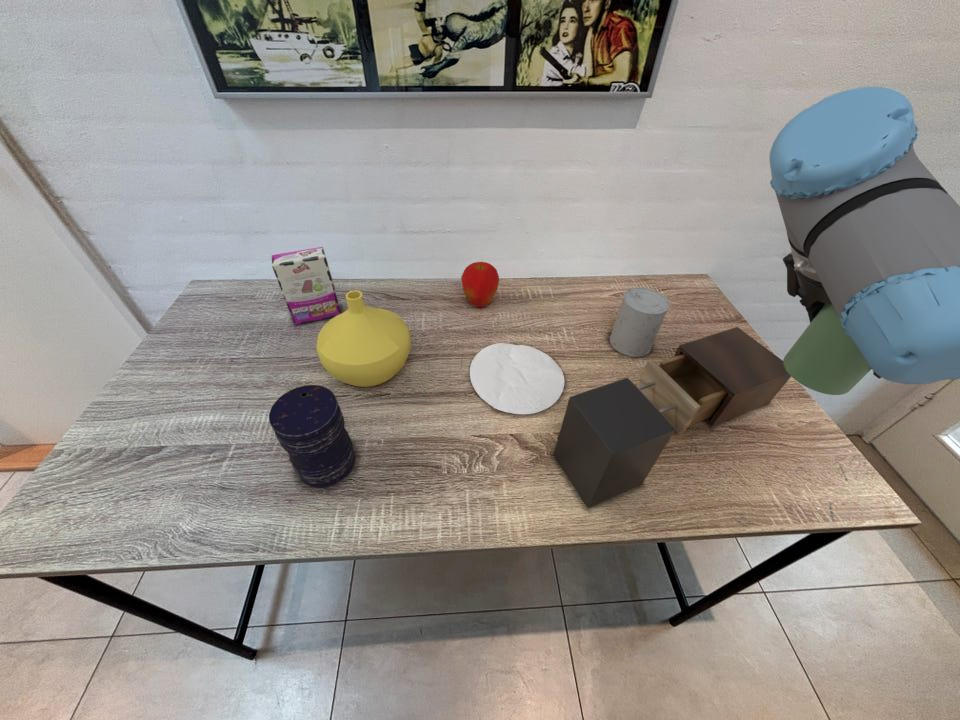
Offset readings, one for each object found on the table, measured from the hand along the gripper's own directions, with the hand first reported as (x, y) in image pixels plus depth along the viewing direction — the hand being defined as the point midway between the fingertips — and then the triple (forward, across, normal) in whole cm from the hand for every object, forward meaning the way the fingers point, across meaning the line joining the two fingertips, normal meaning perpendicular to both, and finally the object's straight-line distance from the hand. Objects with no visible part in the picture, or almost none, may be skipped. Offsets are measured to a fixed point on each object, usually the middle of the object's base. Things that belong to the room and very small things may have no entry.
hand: (853, 346), depth 52 cm
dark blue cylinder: (-29, -23, -70) cm, 79 cm away
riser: (+2, -8, -39) cm, 40 cm away
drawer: (+17, -15, -22) cm, 32 cm away
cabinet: (+26, -16, -15) cm, 34 cm away
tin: (0, 0, -5) cm, 5 cm away
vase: (-22, -44, -63) cm, 80 cm away
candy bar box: (-29, -66, -70) cm, 101 cm away
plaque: (-1, -32, -43) cm, 53 cm away
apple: (-1, -59, -42) cm, 73 cm away
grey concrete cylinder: (+20, -35, -21) cm, 45 cm away
